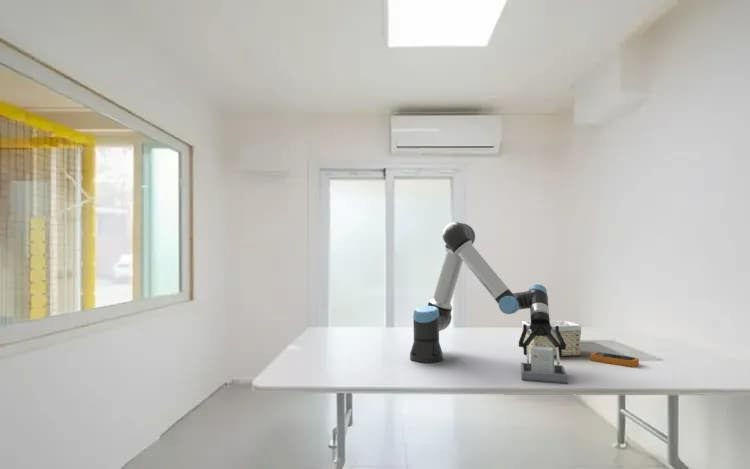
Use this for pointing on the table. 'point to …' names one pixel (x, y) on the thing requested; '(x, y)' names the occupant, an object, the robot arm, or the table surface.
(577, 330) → the storage basket
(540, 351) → the small box
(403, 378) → the table surface
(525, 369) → the tray
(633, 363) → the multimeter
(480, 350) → the table surface
